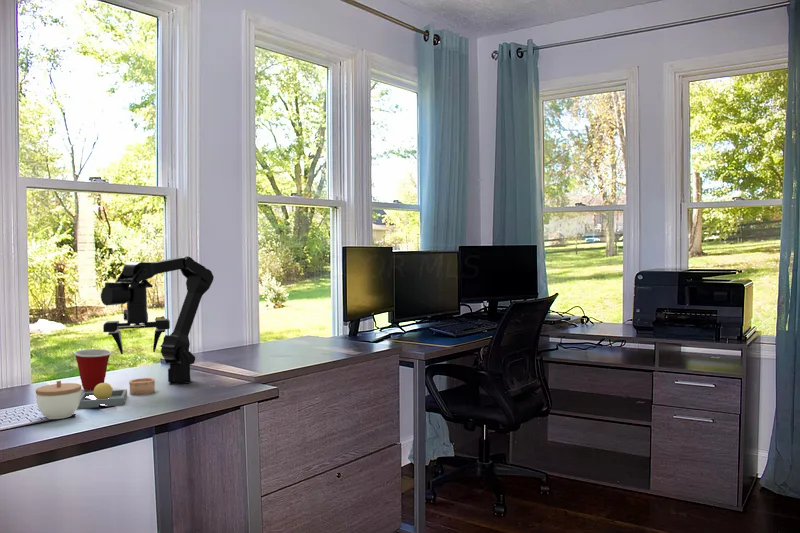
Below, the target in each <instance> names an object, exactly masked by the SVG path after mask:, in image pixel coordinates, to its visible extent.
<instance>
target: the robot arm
mask: <svg viewBox="0 0 800 533" xmlns="http://www.w3.org/2000/svg"><path fill="white" fill-rule="evenodd" d="M178 270H179V271H180V272H181V275H182V276H184V278H186V282H185V286H186V294H185V298H184V301H183V303H182V306H181V309H180V312H179V315H178V317H177V320H176V323H175V327H174V329H173V332H172V333H170V334H165V335H164V337H163V341H162V344H160V348H161V349H160V354H161V355H162V357H163V359H164V362H165V365H166V364H169V367H168V368H167V377H168V378H167V379H168V380H167V382H168V383H169V385H181V384H191V382H192V381H191V380H192V379H191V378H192V377H191V365H193V364H195V361H196V356H195V355H194V354H193V353H192V352H191V351H189V350H190V346H191V343H190V339H189V337H190V336H189V334H190V332H191V329H192V326H193V323H194V320H195V317H196V314H197V311H198V309H199V306H200V303H201V300H202V298H203V295H204V294H205V293H206V292H207V291H208V290H210V288H211V285H212V283H213V282H214V275H213V272H212V271H211V270H210V269H209V268H207V267H205V266H204V265H202V264H200V263H198V262H197V261H196V260H194V259H193V258H192V257H191V256H185V255H183V256H177V257H174V258H169V259H168V258H167V259H163V260H158V261H151V262H147V261H146V262H145V261H143V262H141V261H139V262H138V261H137V262H136V261H135V262H133V261H129V262H126V263H125V264H124V266H123V268H122V270H121V273H120V275H119V276H118V277H117V279H116V280H115V282H110V281H109V282H108V281H107V282H105V283H104V287H103V288H102V289H101V293H100V300H101V302H102V304H103V305H105V306H117V305H125V304H126V309H124V310H123V321H126V322H120V321H119V320H109V321H108V320H107V321H106V322H105V323H103V324H102V325H103V326H102V327H103V331H102V332H103V333H108V336H112V338H113V339H114V341H115V343H116V345H117V348H118V350H119V353H120V354H121V355H123V354H124V347H123V340H122V336H121V335H122V334H121V330H127V329H129V330H130V329H146V328H147V329H149V328H155V330H154V337H153V338H154V339H153V346H152V348H153V349H152V350H153V351H152V352H153V353H156V349H157V346H158V343H159V339H160V337H161V335H162V333H166V330H169V329H171V322H170V319H169V318H156V319H155V321H149V313H148V300H147V297H148V296H147V295H148V294H147V288H153V287H154V286H153V283H151V282H149V281H148V280H149V279H151V278H153V277H154V276H156V275H158V274H164V273H168V272H173V271H174V272H175V271H178Z"/></svg>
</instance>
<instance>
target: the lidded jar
mask: <svg viewBox="0 0 800 533" xmlns="http://www.w3.org/2000/svg"><path fill="white" fill-rule="evenodd" d="M81 395H82V383H81V384H80V383H77V382H64V383H63V382H62V381H61V380H57V381H56V383H53V384H48V385H44V386H40V387H39V386H38V387H37V388H36V389H35V396H36V397H35V398H36V405H37V408H38V410H39V412H40V413H41V414H42V415H43V416H45V417H46V419H47V418H48V420H60V419H66V418H69V417H70V418H71V417H72V416H73V414H74V413H75V412H76V411H77V410H78V409H77V408H78V407H79V404H80V400H81Z"/></svg>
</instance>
